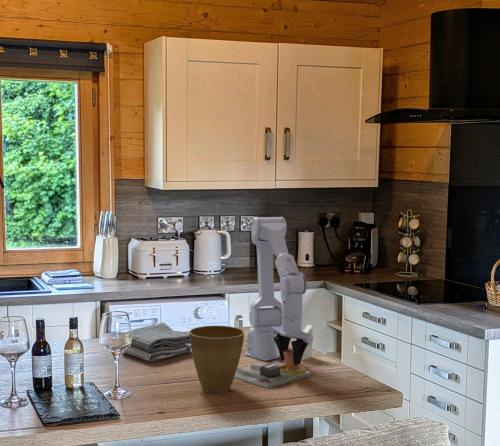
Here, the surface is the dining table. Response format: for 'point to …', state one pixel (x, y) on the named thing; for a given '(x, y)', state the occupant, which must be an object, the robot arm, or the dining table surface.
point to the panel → (285, 376)
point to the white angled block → (308, 349)
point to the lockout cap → (289, 360)
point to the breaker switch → (270, 370)
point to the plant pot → (216, 355)
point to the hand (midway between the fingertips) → (290, 362)
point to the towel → (158, 343)
